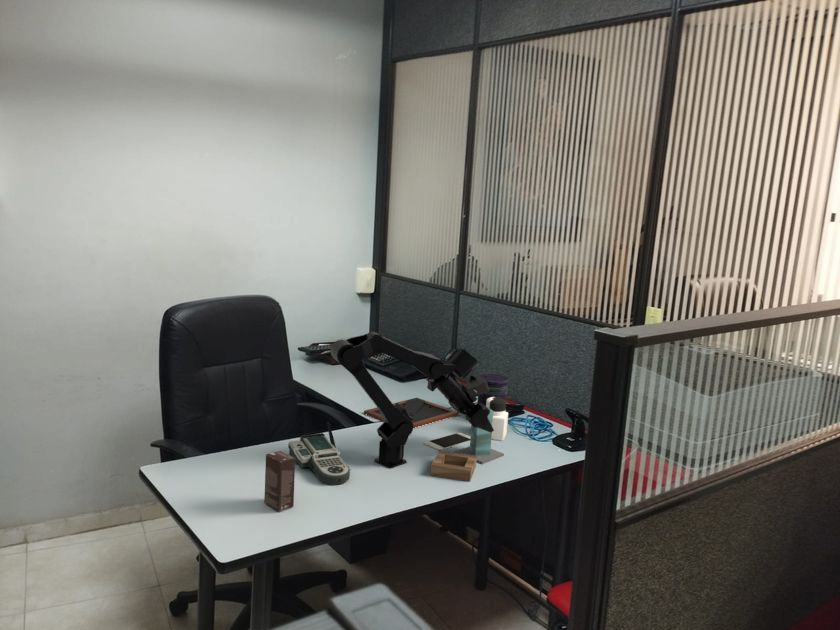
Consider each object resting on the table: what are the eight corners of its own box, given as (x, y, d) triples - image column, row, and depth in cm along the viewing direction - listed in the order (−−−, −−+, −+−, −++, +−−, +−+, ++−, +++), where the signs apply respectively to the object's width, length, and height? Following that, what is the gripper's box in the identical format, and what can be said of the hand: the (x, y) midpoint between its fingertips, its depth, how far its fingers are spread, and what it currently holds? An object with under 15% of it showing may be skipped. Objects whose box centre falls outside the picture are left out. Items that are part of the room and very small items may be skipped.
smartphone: (423, 444, 201) (423, 441, 201) (459, 434, 211) (459, 431, 211) (439, 452, 196) (440, 449, 196) (476, 441, 206) (476, 438, 206)
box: (294, 507, 156) (296, 457, 154) (278, 512, 153) (279, 462, 151) (279, 498, 160) (280, 449, 158) (263, 503, 157) (264, 454, 155)
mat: (482, 464, 188) (482, 462, 188) (454, 453, 195) (455, 451, 194) (503, 455, 195) (504, 453, 195) (476, 445, 202) (476, 443, 202)
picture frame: (416, 402, 243) (363, 415, 225) (416, 396, 242) (364, 409, 224) (458, 417, 229) (406, 432, 211) (459, 411, 229) (406, 426, 211)
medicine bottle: (506, 433, 214) (509, 397, 212) (503, 441, 207) (506, 403, 205) (484, 430, 215) (487, 394, 213) (480, 437, 209) (483, 400, 207)
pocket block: (470, 481, 176) (470, 470, 175) (430, 475, 178) (431, 464, 178) (475, 466, 186) (476, 456, 185) (438, 461, 188) (439, 450, 188)
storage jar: (510, 421, 225) (514, 378, 223) (495, 428, 218) (499, 383, 215) (484, 414, 231) (488, 372, 229) (469, 421, 223) (472, 377, 221)
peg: (490, 454, 193) (493, 411, 191) (475, 455, 192) (478, 411, 190) (484, 449, 198) (487, 406, 195) (469, 449, 196) (472, 406, 194)
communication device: (313, 491, 166) (314, 457, 164) (285, 455, 187) (286, 424, 185) (359, 484, 172) (360, 451, 170) (327, 449, 192) (328, 420, 191)
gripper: (485, 378, 181) (520, 416, 186) (461, 361, 198) (493, 396, 203) (456, 407, 180) (491, 445, 185) (434, 387, 197) (466, 422, 202)
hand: (486, 425), depth 194 cm, fingers open, 9 cm apart
